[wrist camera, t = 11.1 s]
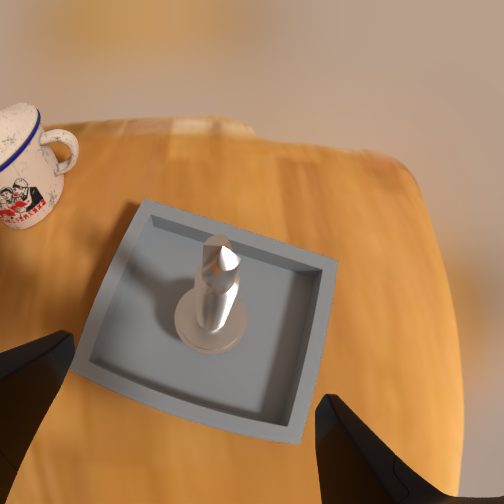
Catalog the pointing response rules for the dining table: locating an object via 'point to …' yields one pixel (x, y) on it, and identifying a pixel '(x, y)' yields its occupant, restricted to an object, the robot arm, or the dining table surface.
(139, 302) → the tray
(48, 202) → the teacup with lid
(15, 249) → the dining table surface
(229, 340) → the screw
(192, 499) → the dining table surface
